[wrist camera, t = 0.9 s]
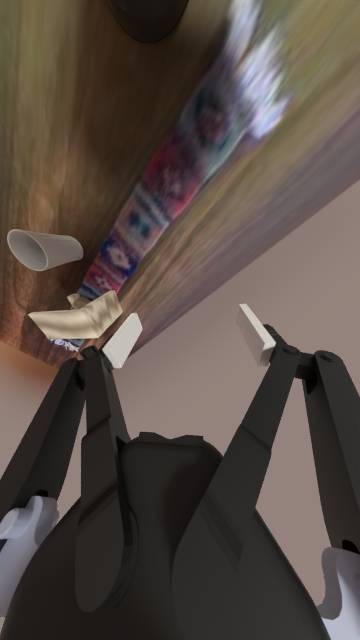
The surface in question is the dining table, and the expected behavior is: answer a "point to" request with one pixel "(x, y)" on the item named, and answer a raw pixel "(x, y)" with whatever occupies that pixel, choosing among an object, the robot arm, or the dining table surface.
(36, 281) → the dining table surface
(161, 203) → the dining table surface
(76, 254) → the cup
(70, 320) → the shelf
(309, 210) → the dining table surface
